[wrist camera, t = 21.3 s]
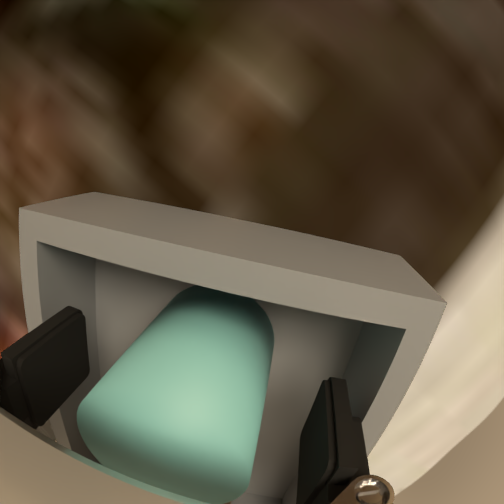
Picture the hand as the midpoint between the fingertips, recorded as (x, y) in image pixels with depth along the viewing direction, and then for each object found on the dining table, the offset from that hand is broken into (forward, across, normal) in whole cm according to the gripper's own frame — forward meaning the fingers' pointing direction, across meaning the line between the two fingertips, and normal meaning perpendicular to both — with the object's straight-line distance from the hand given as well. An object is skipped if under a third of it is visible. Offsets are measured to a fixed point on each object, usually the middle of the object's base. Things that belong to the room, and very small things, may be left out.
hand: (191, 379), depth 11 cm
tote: (+4, 0, +4) cm, 6 cm away
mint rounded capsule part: (+3, 0, 0) cm, 3 cm away
